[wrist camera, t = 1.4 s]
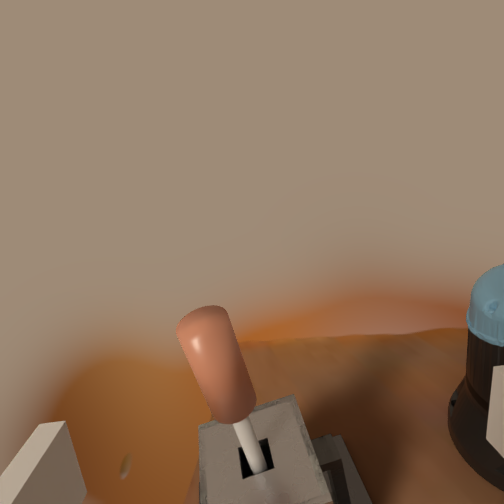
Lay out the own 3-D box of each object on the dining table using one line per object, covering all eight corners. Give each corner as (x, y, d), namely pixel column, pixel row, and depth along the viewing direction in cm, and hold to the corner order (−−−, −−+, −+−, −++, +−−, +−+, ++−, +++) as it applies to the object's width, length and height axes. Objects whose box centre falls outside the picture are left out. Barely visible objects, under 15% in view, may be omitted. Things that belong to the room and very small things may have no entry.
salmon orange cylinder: (289, 487, 34) (225, 300, 24) (300, 527, 31) (230, 330, 20) (256, 499, 34) (176, 315, 24) (263, 540, 30) (174, 348, 20)
